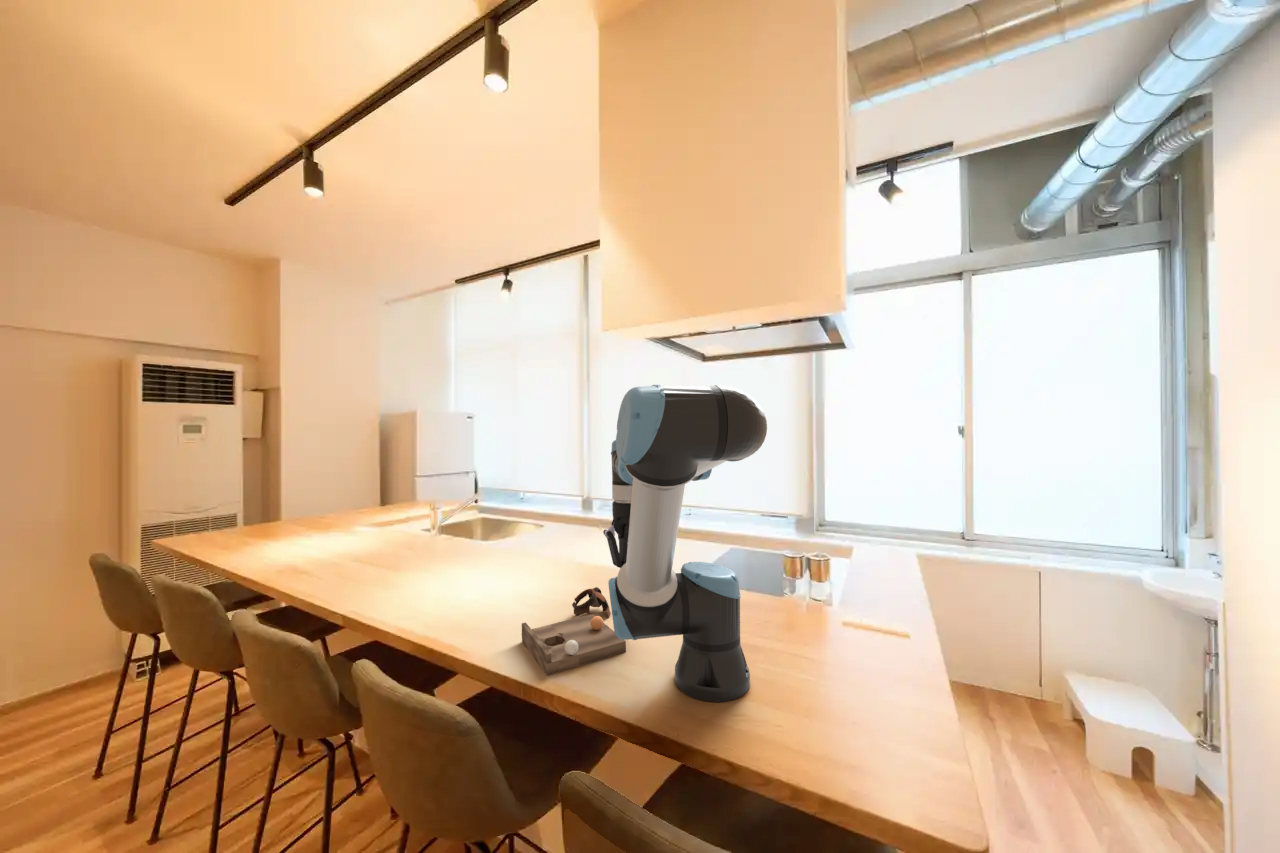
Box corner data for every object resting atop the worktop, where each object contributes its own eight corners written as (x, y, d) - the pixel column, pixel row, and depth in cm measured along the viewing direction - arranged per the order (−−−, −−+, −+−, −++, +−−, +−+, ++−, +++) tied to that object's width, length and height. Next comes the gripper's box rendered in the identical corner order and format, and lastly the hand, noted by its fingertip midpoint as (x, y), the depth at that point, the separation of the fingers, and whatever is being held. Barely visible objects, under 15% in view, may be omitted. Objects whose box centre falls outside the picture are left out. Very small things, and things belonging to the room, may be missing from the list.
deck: (625, 651, 108) (625, 632, 108) (547, 675, 98) (546, 654, 98) (592, 623, 123) (592, 606, 123) (522, 641, 113) (521, 623, 113)
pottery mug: (611, 624, 123) (595, 600, 122) (581, 638, 125) (565, 614, 123) (616, 596, 135) (601, 574, 133) (588, 609, 137) (573, 587, 135)
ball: (606, 630, 113) (605, 617, 113) (594, 633, 112) (593, 620, 112) (600, 625, 116) (600, 612, 116) (588, 628, 114) (588, 615, 114)
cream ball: (580, 655, 101) (580, 641, 101) (567, 659, 100) (567, 645, 100) (575, 649, 104) (575, 636, 104) (562, 653, 102) (562, 639, 102)
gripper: (641, 495, 125) (642, 582, 125) (597, 500, 118) (599, 592, 119) (656, 499, 118) (657, 591, 119) (611, 505, 112) (612, 602, 112)
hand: (628, 592), depth 119 cm, fingers closed
